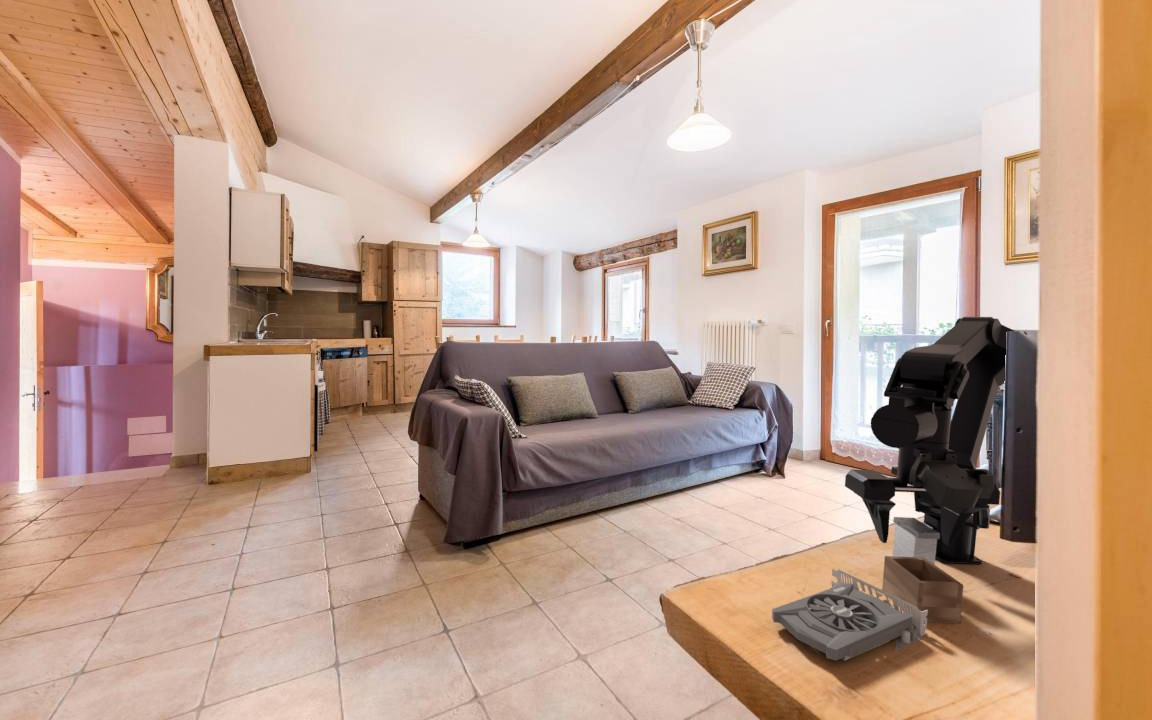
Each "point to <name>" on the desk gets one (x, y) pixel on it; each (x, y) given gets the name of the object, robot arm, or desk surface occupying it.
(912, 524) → the grey-ended wooden post
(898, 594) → the open wooden box
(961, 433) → the robot arm
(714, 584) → the desk surface
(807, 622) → the graphics card
